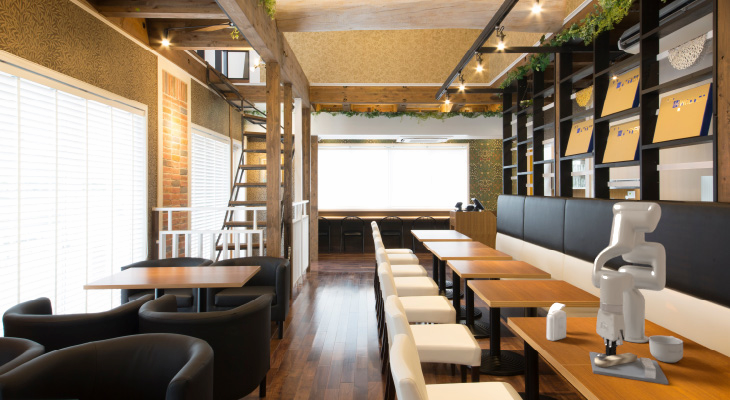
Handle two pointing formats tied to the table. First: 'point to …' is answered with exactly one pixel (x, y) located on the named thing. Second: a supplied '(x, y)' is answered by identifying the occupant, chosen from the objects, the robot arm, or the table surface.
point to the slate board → (628, 370)
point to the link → (614, 359)
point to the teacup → (666, 348)
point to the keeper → (648, 368)
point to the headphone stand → (556, 307)
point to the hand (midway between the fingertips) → (610, 356)
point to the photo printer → (556, 325)
